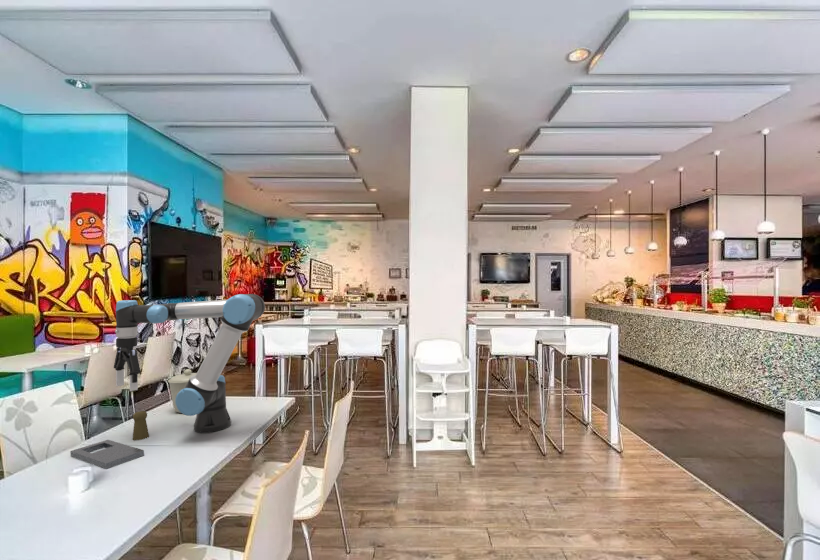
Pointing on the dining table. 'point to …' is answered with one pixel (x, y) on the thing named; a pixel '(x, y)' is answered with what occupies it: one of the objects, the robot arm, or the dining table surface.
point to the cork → (140, 426)
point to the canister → (179, 385)
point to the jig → (107, 453)
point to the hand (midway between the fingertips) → (126, 388)
